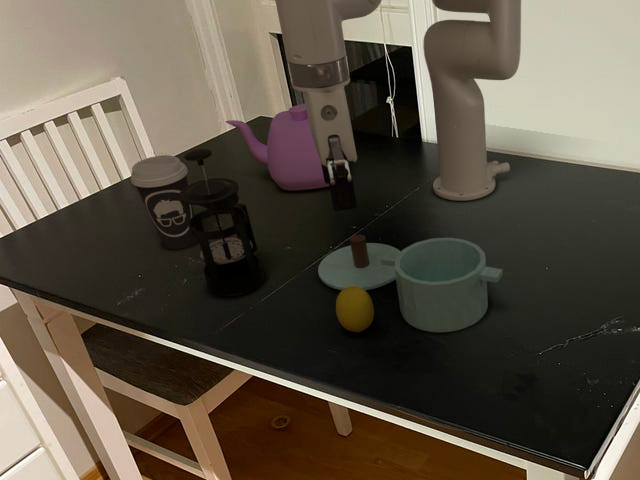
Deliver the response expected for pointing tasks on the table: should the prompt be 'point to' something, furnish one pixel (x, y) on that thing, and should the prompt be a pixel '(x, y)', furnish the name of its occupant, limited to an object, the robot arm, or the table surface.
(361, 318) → the lemon
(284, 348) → the table surface
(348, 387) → the table surface
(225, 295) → the french press
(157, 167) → the coffee cup
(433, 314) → the pot
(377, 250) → the lid
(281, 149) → the teapot
